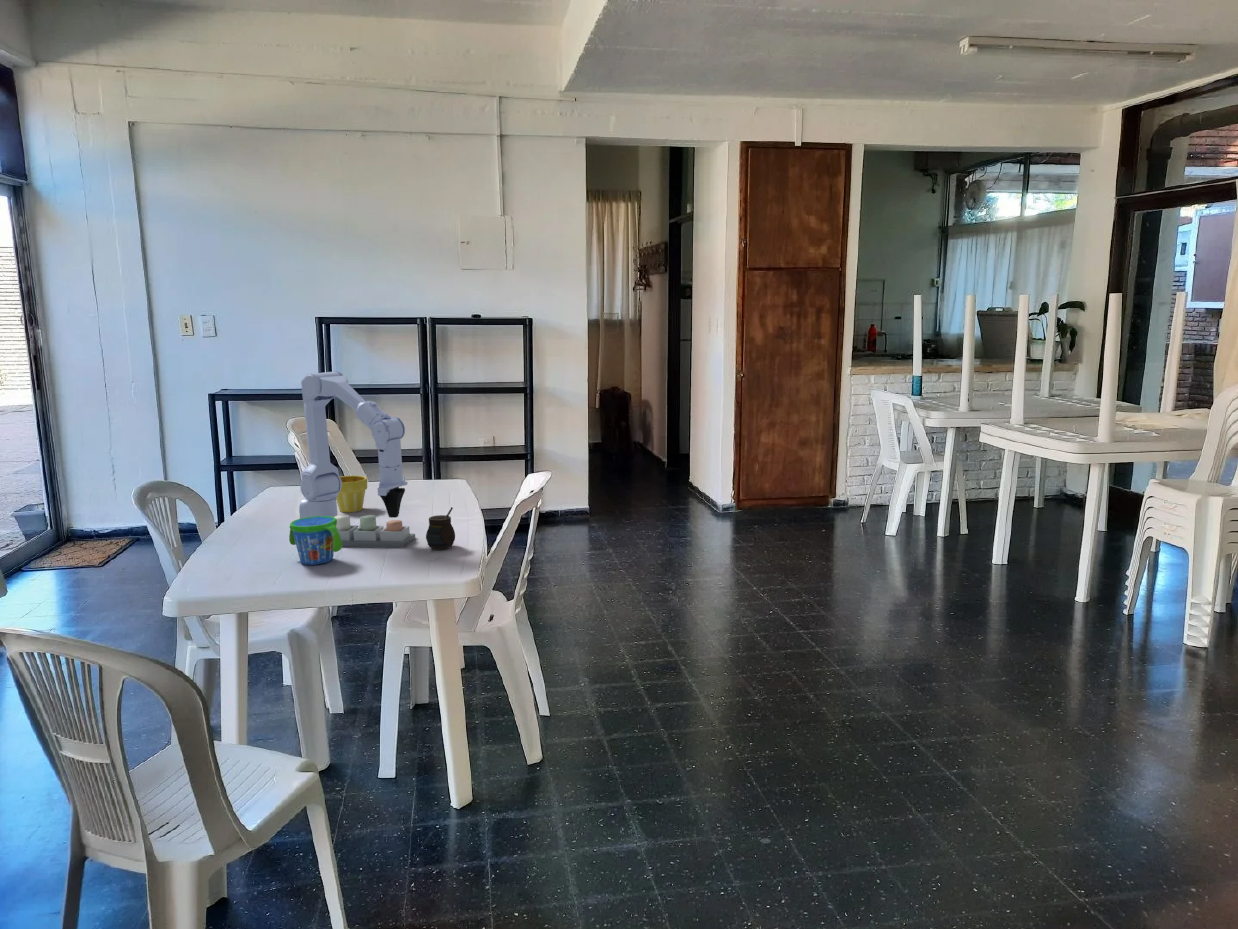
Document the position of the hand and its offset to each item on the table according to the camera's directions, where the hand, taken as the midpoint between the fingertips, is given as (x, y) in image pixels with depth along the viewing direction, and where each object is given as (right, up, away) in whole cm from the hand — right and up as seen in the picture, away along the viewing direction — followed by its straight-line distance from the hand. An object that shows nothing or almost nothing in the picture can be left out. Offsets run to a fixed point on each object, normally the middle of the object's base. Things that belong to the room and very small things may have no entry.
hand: (393, 516), depth 216 cm
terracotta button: (0, -5, +1) cm, 5 cm away
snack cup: (-15, -10, -14) cm, 23 cm away
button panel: (-7, -7, +2) cm, 10 cm away
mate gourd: (+13, -8, -4) cm, 16 cm away
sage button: (-7, -4, +1) cm, 8 cm away
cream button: (-14, -4, +2) cm, 14 cm away
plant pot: (-23, -1, +38) cm, 44 cm away
